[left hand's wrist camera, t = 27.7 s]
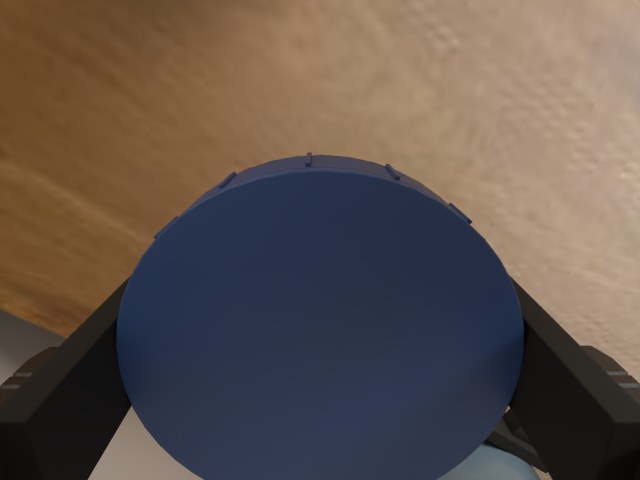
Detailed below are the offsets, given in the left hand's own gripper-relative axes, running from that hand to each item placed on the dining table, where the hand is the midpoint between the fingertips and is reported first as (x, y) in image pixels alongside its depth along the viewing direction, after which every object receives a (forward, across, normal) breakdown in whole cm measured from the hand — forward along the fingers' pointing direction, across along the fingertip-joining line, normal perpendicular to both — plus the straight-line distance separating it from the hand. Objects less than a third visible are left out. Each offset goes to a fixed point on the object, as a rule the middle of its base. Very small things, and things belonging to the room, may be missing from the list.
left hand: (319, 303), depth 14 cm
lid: (-3, 0, 0) cm, 3 cm away
